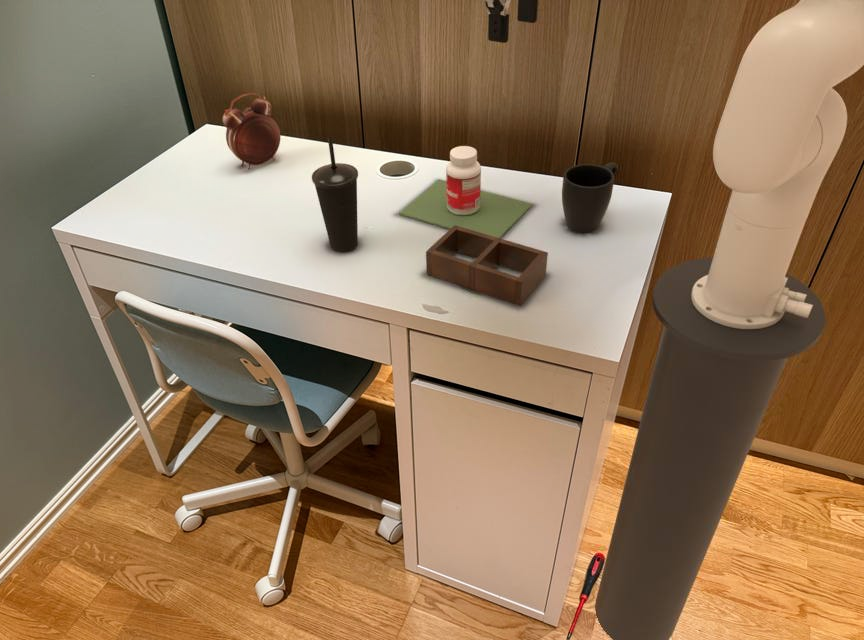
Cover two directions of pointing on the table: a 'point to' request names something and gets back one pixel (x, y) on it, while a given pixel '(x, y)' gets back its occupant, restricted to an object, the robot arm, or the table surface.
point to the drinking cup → (338, 202)
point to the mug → (587, 195)
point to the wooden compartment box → (487, 264)
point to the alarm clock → (252, 131)
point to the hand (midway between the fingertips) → (512, 31)
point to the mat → (489, 219)
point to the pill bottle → (463, 181)
